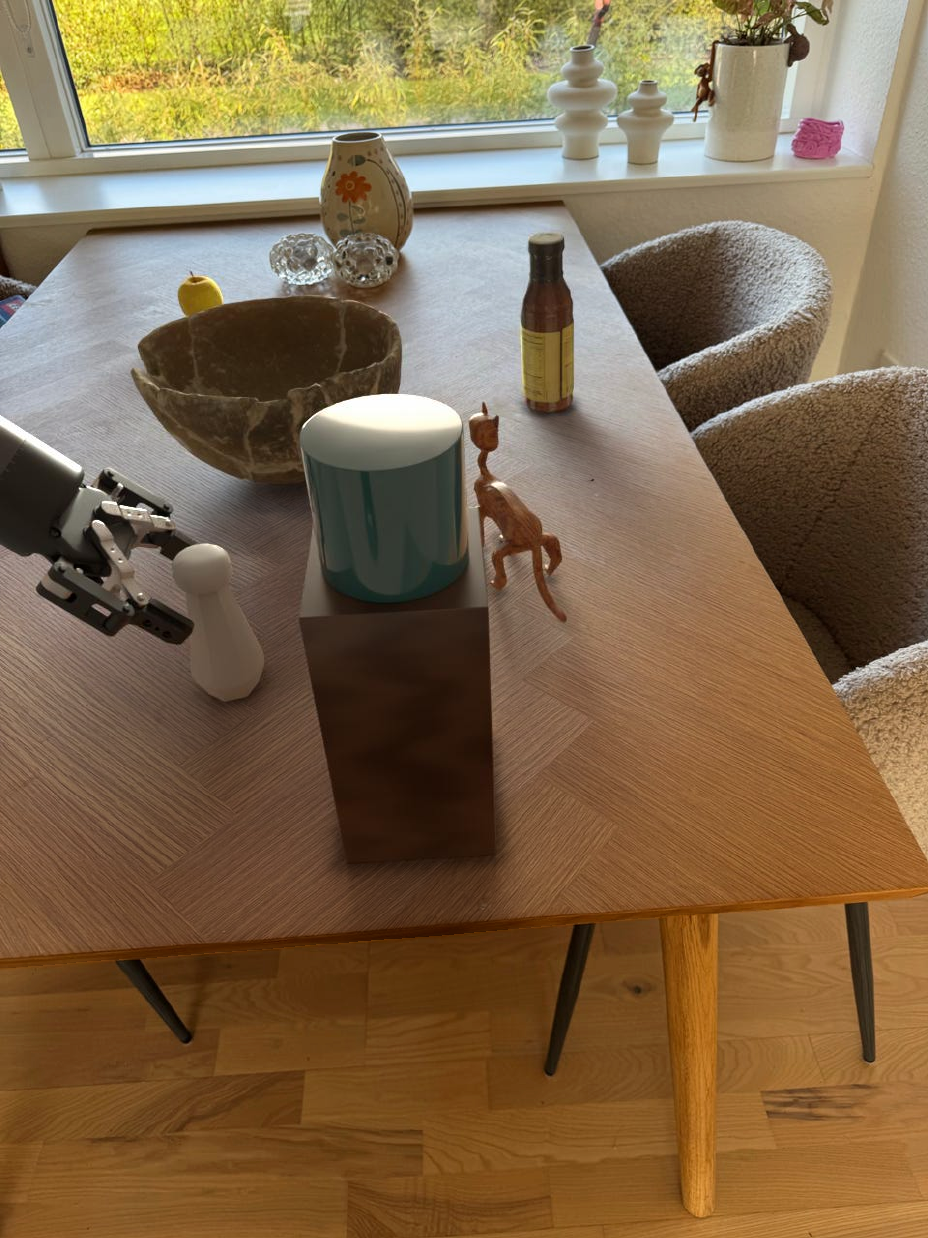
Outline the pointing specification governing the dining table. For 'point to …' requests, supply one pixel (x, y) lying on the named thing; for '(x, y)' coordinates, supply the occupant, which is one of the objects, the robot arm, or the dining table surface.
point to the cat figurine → (510, 516)
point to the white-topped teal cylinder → (387, 496)
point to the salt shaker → (217, 624)
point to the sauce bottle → (547, 327)
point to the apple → (198, 295)
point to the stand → (406, 713)
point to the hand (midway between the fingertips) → (198, 599)
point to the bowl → (264, 377)
